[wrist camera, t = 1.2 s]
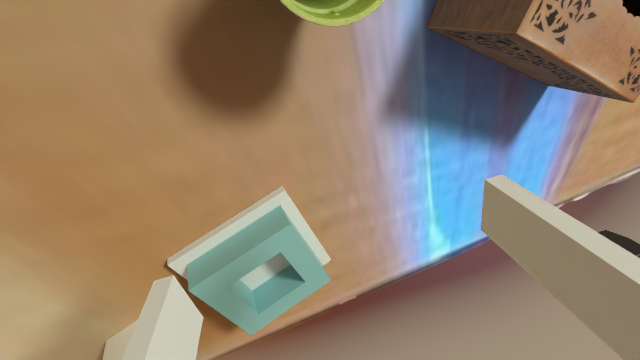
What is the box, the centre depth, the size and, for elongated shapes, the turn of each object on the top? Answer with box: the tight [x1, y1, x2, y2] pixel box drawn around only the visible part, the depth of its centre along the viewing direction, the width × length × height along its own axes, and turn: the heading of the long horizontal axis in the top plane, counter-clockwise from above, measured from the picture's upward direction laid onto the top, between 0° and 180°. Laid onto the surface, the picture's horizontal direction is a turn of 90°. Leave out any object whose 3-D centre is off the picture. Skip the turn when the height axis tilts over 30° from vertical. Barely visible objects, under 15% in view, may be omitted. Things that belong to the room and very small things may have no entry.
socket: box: [167, 186, 331, 335], centre depth 33 cm, size 14×14×4 cm
